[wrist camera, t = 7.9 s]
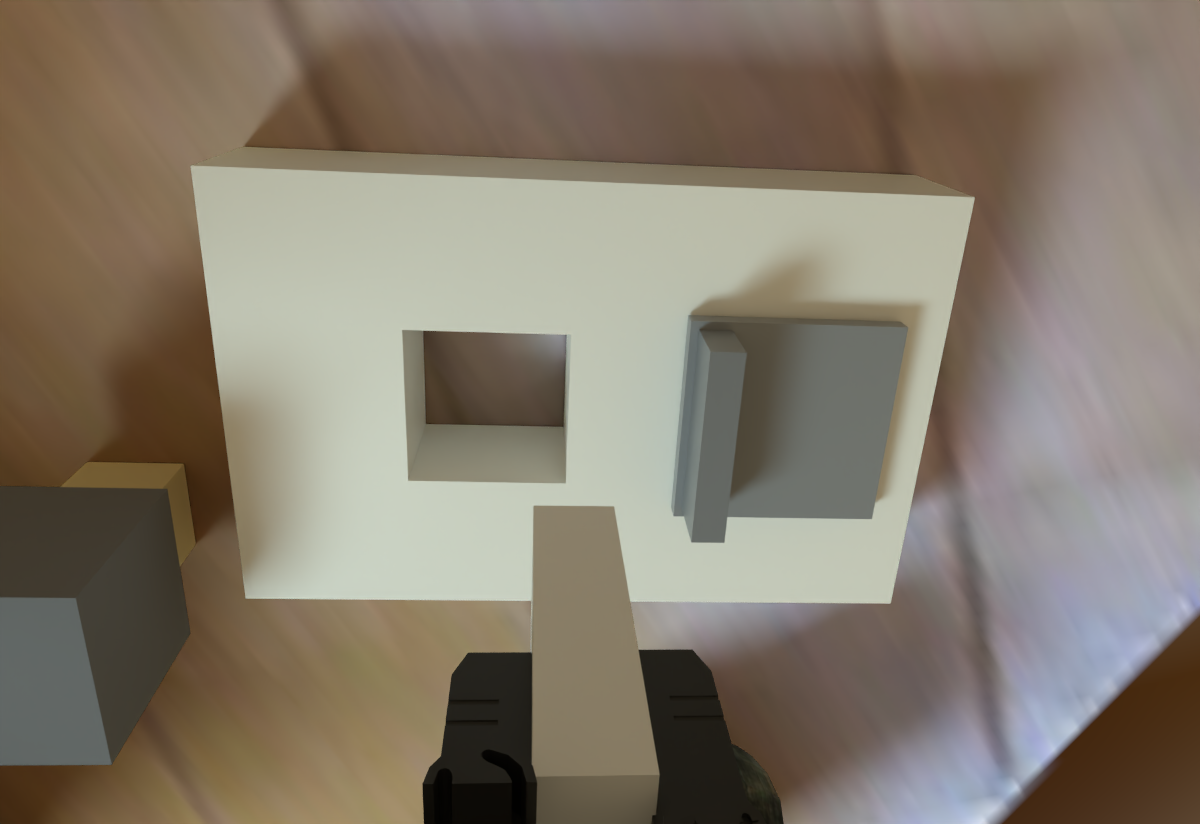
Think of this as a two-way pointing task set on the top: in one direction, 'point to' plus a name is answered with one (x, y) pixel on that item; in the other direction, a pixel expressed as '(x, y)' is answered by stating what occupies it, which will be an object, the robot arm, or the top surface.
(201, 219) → the socket
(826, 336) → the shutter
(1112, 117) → the top surface
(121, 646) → the plug
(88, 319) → the top surface
